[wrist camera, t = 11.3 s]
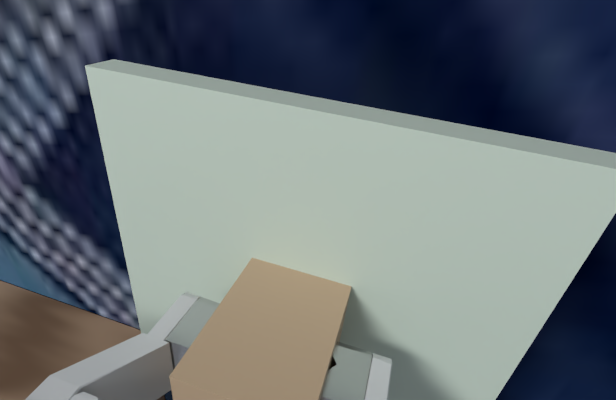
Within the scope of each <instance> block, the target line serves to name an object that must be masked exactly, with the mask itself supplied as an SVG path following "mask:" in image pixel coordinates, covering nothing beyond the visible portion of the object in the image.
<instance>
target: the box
mask: <svg viewBox="0 0 616 400" xmlns="http://www.w3.org/2000/svg"><path fill="white" fill-rule="evenodd" d="M139 334H141V330H138V329H136V328H133V327H130V326H127V325H124V324H122V323H119V322H116V321H113V320H110V319H107V318H105V317H102V316H99V315H96V314H93V313H90V312H88V311H85V310H82V309H79V308H76V307H74V306H71V305H68V304H65V303H62V302H59V301H57V300H54V299H51V298H48V297H45V296H43V295H40V294H37V293H34V292H31V291H28V290H26V289H23V288H20V287H17V286H14V285H11V284H9V283H6V282H3V281H0V400H25V399H26V398H27V397H28V396H29V395H30V394H31V393H32V392H33V391H34V390H35V389H36V388H37V387H38V386H39V385H40V384H41V383H42V382H43V381H44V380H45V379H46V378H47V377H48V376H49V375H51V374H54V373H56V372H58V371H60V370H62V369H65V368H67V367H69V366H71V365H73V364H75V363H78V362H80V361H82V360H84V359H86V358H89V357H91V356H93V355H95V354H97V353H100V352H102V351H104V350H106V349H108V348H110V347H113V346H115V345H117V344H119V343H121V342H124V341H126V340H128V339H130V338H132V337H135V336H137V335H139ZM157 400H165V396H164V395H163V396H161V397H160V398H158V399H157Z"/></svg>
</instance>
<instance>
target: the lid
mask: <svg viewBox="0 0 616 400" xmlns="http://www.w3.org/2000/svg"><path fill="white" fill-rule="evenodd" d="M85 69H86V73H87V78H88V83H89V88H90V92H91V97H92V102H93V107H94V111H95V116H96V121H97V126H98V130H99V135H100V140H101V145H102V149H103V154H104V159H105V164H106V168H107V173H108V178H109V183H110V188H111V192H112V197H113V202H114V207H115V211H116V216H117V221H118V226H119V230H120V235H121V240H122V245H123V249H124V254H125V259H126V264H127V268H128V273H129V278H130V283H131V287H132V292H133V297H134V302H135V306H136V311H137V316H138V321H139V326H140V330H141V333H145V334H148V333H149V332H150V330H151V329H152V328H153V327H154V326H155V325H156V323H157V322H158V321H159V320H160V319H161V318H162V316H163V315H164V314H165V313H166V312H167V310H168V309H169V308H170V307H171V306H172V305H173V303H174V302H175V301H176V300H177V299H178V298H179V296H180V295H182V294H183V293H185V292H188V293H191V294H194V295H197V296H200V297H203V298H206V299H209V300H211V301H214V302H217V303H220V304H219V306H218V307H217V309H216V310H215V311H214V313H213V314H212V316H211V317H210V319H209V320H208V321H207V323H206V324H205V326H204V327H203V329H202V330H201V331H200V333H199V334H198V336H197V337H196V339H195V340H194V342H193V343H192V344H191V346H190V347H189V349H188V350H187V352H186V353H185V354H184V356H183V357H182V359H181V360H180V362H179V363H178V364H177V366H176V367H175V369H174V370H173V372H172V373H171V374H170V376H169V378H170V384H171V390H172V396H173V400H320V398H321V394H322V390H323V387H324V384H325V380H326V377H327V373H328V370H329V369H330V366H331V361H332V356H333V353H334V349H335V346H336V343H337V341H338V342H341V343H344V344H347V345H351V346H354V347H357V348H360V349H364V350H367V351H370V352H372V354H373V353H375V354H378V355H381V356H384V357H387V358H390V359H392V370H391V378H390V386H389V394H388V400H496V398H497V397H498V395H499V393H500V392H501V390H502V389H503V387H504V386H505V384H506V383H507V381H508V379H509V378H510V376H511V375H512V373H513V372H514V370H515V369H516V367H517V365H518V364H519V362H520V361H521V359H522V358H523V356H524V355H525V353H526V351H527V350H528V348H529V347H530V345H531V344H532V342H533V341H534V339H535V337H536V336H537V334H538V333H539V331H540V330H541V328H542V327H543V325H544V323H545V322H546V320H547V319H548V317H549V316H550V314H551V313H552V311H553V309H554V308H555V306H556V305H557V303H558V302H559V300H560V299H561V297H562V295H563V294H564V292H565V291H566V289H567V288H568V286H569V285H570V283H571V281H572V280H573V278H574V277H575V275H576V274H577V272H578V271H579V269H580V267H581V266H582V264H583V263H584V261H585V260H586V258H587V257H588V255H589V253H590V252H591V250H592V249H593V247H594V246H595V244H596V243H597V241H598V239H599V238H600V236H601V235H602V233H603V232H604V230H605V229H606V227H607V226H608V224H609V222H610V221H611V219H612V218H613V216H614V215H615V213H616V153H612V152H607V151H602V150H596V149H591V148H586V147H580V146H575V145H570V144H564V143H559V142H554V141H548V140H543V139H538V138H532V137H527V136H521V135H516V134H511V133H505V132H500V131H495V130H489V129H484V128H479V127H473V126H468V125H463V124H457V123H452V122H447V121H441V120H436V119H430V118H425V117H420V116H414V115H409V114H404V113H398V112H393V111H388V110H382V109H377V108H372V107H366V106H361V105H355V104H350V103H345V102H339V101H334V100H329V99H323V98H318V97H313V96H307V95H302V94H297V93H291V92H286V91H281V90H275V89H270V88H264V87H259V86H254V85H248V84H243V83H238V82H232V81H227V80H222V79H216V78H211V77H206V76H200V75H195V74H190V73H184V72H179V71H173V70H168V69H163V68H157V67H152V66H147V65H141V64H136V63H131V62H125V61H120V60H115V59H113V60H109V61H104V62H99V63H95V64H90V65H86V66H85Z"/></svg>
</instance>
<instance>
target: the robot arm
mask: <svg viewBox="0 0 616 400" xmlns="http://www.w3.org/2000/svg"><path fill="white" fill-rule="evenodd" d="M219 304H220V303H217V302H214V301H211V300H209V299H206V298H203V297H200V296H197V295H194V294H191V293H188V292H185V293H183V294H182V295H180V296H179V298H178V299H177V300H176V301H175V302H174V303H173V305H172V306H171V307H170V308H169V309H168V310H167V312H166V313H165V314H164V315H163V316H162V318H161V319H160V320H159V321H158V322H157V323H156V325H155V326H154V327H153V328H152V329H151V330H150V332H149V333H148V334H145V333H141V334H139V335H137V336H135V337H132V338H130V339H128V340H126V341H124V342H121V343H119V344H117V345H115V346H113V347H110V348H108V349H106V350H104V351H102V352H100V353H97V354H95V355H93V356H91V357H89V358H86V359H84V360H82V361H80V362H78V363H75V364H73V365H71V366H69V367H67V368H65V369H62V370H60V371H58V372H56V373H54V374H51V375H49V376H48V377H47V378H46V379H45V380H44V381H43V382H42V383H41V384H40V385H39V386H38V387H37V388H36V389H35V390H34V391H33V392H32V393H31V394H30V395H29V396H28V397H27V398H26V399H25V400H157V399H158V398H160V397H161V396H163V395H164V394H166V393H167V392H169V391H170V390H171V384H170V378H169V376H170V374H171V373H172V372H173V370H174V369H175V367H176V366H177V364H178V363H179V362H180V360H181V359H182V357H183V356H184V354H185V353H186V352H187V350H188V349H189V347H190V346H191V344H192V343H193V342H194V340H195V339H196V337H197V336H198V334H199V333H200V331H201V330H202V329H203V327H204V326H205V324H206V323H207V321H208V320H209V319H210V317H211V316H212V314H213V313H214V311H215V310H216V309H217V307H218V306H219ZM391 370H392V359H390V358H387V357H384V356H381V355H378V354H375V353H373V354H372V352H370V351H367V350H364V349H360V348H357V347H354V346H351V345H347V344H344V343H341V342H338V341H337V343H336V346H335V349H334V353H333V356H332V361H331V366H330V369H329V370H328V373H327V377H326V380H325V384H324V387H323V390H322V394H321V398H320V400H388V394H389V386H390V378H391Z"/></svg>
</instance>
